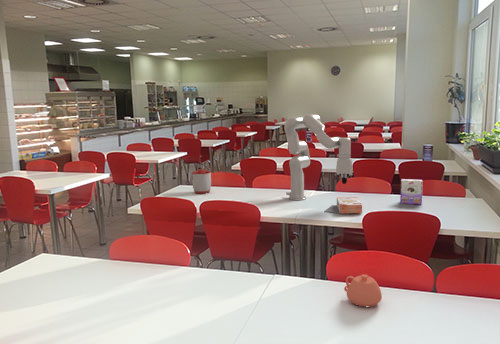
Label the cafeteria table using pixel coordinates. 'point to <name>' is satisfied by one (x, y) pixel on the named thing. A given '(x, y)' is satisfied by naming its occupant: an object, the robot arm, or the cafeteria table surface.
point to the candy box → (411, 191)
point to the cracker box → (349, 205)
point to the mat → (334, 210)
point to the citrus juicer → (201, 181)
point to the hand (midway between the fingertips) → (344, 183)
